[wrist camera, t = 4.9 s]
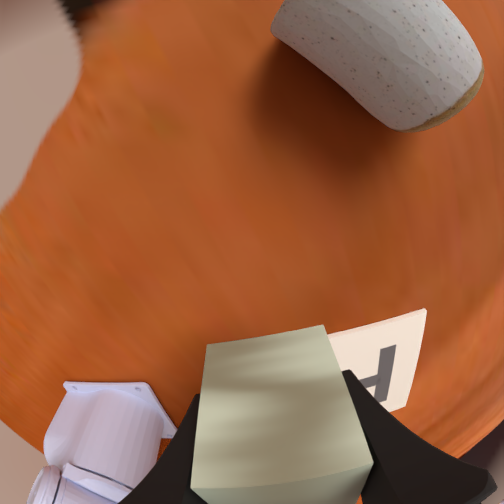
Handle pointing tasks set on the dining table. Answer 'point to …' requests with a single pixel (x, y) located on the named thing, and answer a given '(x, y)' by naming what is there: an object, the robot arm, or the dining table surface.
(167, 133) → the dining table surface
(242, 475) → the green block
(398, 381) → the letter card
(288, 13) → the ceramic mug
